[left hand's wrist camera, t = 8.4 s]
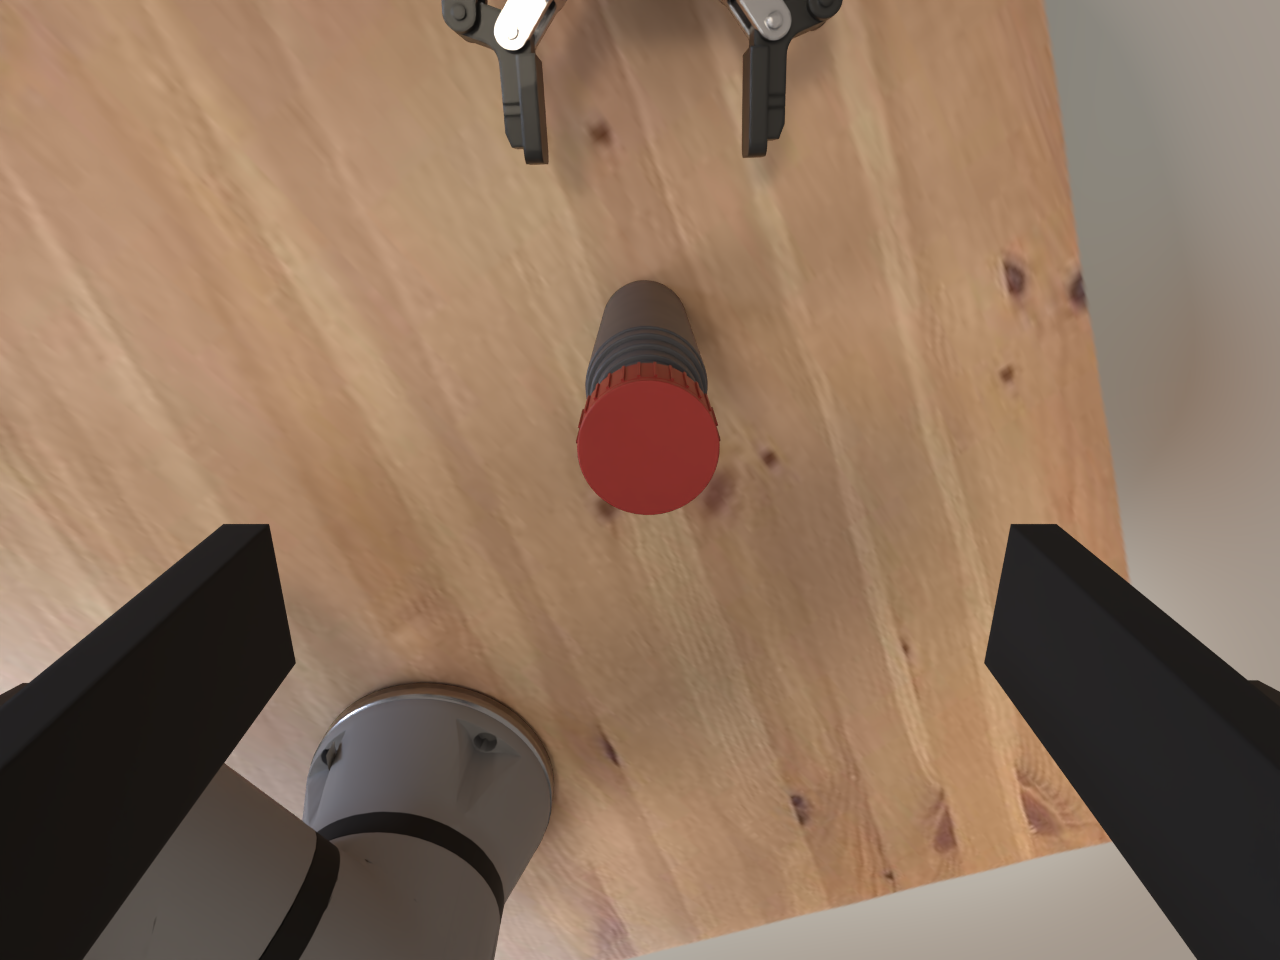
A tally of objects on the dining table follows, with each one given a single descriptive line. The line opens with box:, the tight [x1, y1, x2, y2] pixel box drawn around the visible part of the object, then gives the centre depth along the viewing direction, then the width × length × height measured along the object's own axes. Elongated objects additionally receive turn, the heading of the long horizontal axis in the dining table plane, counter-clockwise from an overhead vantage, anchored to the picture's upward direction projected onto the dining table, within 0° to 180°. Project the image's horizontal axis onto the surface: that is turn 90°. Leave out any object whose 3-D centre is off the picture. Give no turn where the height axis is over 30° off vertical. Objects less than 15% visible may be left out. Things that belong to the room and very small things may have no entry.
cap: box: [576, 362, 720, 515], centre depth 22 cm, size 4×4×2 cm
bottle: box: [585, 281, 707, 397], centre depth 30 cm, size 4×4×20 cm
